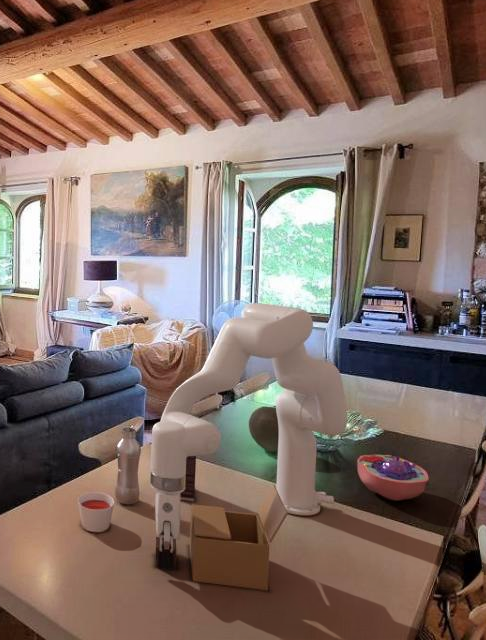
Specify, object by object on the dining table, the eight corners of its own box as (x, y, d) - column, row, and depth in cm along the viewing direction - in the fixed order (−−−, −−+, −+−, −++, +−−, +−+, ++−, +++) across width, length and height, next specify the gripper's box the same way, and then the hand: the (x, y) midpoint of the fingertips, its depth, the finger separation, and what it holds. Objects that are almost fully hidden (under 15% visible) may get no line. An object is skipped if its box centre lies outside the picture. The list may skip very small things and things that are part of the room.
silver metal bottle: (112, 496, 146) (114, 425, 144) (136, 495, 146) (138, 425, 145) (117, 507, 139) (118, 434, 138) (142, 507, 140) (144, 433, 139)
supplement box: (195, 502, 143) (197, 445, 142) (177, 500, 144) (178, 443, 143) (193, 487, 152) (195, 434, 150) (176, 486, 152) (178, 432, 151)
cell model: (418, 486, 155) (420, 449, 154) (432, 518, 137) (435, 475, 136) (353, 475, 162) (355, 439, 161) (358, 503, 144) (361, 463, 143)
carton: (256, 554, 119) (257, 510, 118) (267, 590, 107) (269, 542, 106) (189, 546, 122) (190, 504, 121) (193, 581, 109) (194, 533, 108)
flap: (257, 511, 118) (258, 512, 118) (268, 542, 106) (270, 543, 106) (272, 484, 117) (274, 485, 117) (286, 512, 105) (288, 513, 105)
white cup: (88, 538, 124) (89, 513, 124) (71, 520, 132) (71, 496, 132) (120, 530, 128) (121, 505, 128) (101, 513, 136) (101, 489, 136)
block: (175, 557, 117) (175, 538, 117) (175, 569, 113) (176, 550, 113) (155, 555, 118) (155, 536, 118) (155, 567, 114) (155, 547, 113)
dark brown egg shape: (294, 448, 183) (296, 406, 182) (287, 462, 171) (289, 417, 170) (252, 439, 190) (254, 399, 189) (242, 452, 179) (244, 409, 178)
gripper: (187, 500, 105) (184, 582, 106) (183, 465, 122) (180, 536, 123) (149, 496, 106) (147, 577, 107) (151, 462, 123) (148, 532, 124)
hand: (165, 555), depth 115 cm, fingers open, 9 cm apart
